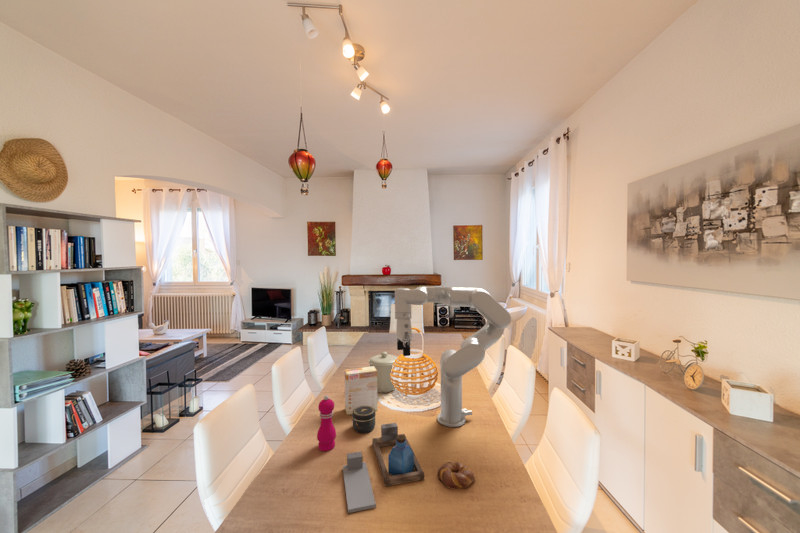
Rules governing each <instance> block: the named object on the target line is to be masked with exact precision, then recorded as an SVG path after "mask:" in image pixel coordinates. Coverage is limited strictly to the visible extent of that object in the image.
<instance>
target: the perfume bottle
mask: <svg viewBox="0 0 800 533" xmlns="http://www.w3.org/2000/svg"><path fill="white" fill-rule="evenodd" d="M405 436H406V434H405V435H399V434H398V435H397V437H396V438H397V439H396V445H393V447H392V449H391V450H390V452H389V454H388V469H387V472H388V475H390V476H394V475H399V474H405V473H410V472H414V471H415V469H414V454H415V452H414V450H413V448H412V447H411V448H412V449H411V448H410V446H411V445H410V446H408V445H406V439H405V438H407V437H405ZM412 450H413V451H412Z"/></svg>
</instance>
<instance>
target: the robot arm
mask: <svg viewBox="0 0 800 533" xmlns="http://www.w3.org/2000/svg"><path fill="white" fill-rule="evenodd" d="M426 303H433V304H435V303H436V304H442V305H444V306H448V307H463V308H464V307H466V308H467V307H468V308H474V309H475V310H477V311H478V313H479V314H480V315H481V316H482V317H483V318H485V319H486V322H485V324H484V325H483V326H482V327H481V328H479V329H478V331H475V332H474V333H473V334H470V336H468V337H467V338H465V339H464V340H462V342H461V344H460V348H459V349H458V350H455V349H451V348H450V349H446V350H444V351H443V352H442V354H441V355H440V362H439V363H440V364H439V365H440V366H439V368H440V412H439V413H438V414H437V417H436V418H437V422H438V423H439V424H441V425H442V426H444V427H449V428H459V427H461V426H463V425H465V423H466V416H472V415H473V411H472V410H471V409H470V410H468V409H467V408H463V376H464V375H466V374H467V373H469V372H470V371H472V370H473V369H475V368H476V367H478V366H479V365H480V364H481V363H482V362H483V360H485V358H486V351H487V350H488V349H490V348H491V347H492V346H493V345H495V344H496V343H497V342H498V341H499V340H500V339H501V338H502V337H503V335H504V331H505V329H506V328H508V327H509V326H510V324H511V322H512V316H511V313H510V311H508V309H506V308H505V307H503V305H501V303H499V302H498V300H496V298H494V297H493V296H492V295H491V294H490V293H489V292H488V291H486V290H485V289H484V288H481V287H454V286H450V287H448V286H442V287H441V286H417V287H416V288H413V289H410V288H407V287H397V288H395V290H394V319H395V320H396V326H395V327H396V331H395V332H396V338H397V339H396V341H397V342H396V348H397V351H402V357H409V356H411V342H412V341H413V334H412V333H413V332H412V321H411V320H412V305H413V306H414V305H416V306H423V305H425V304H426Z"/></svg>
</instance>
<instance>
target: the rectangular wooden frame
mask: <svg viewBox="0 0 800 533" xmlns="http://www.w3.org/2000/svg"><path fill="white" fill-rule="evenodd" d="M398 430H399V426H398V424H397V423H396V422H391V423H390V422H389V423H385V424H384V423H383V424H381V425H380V432H381V434H380V436H381V437H374V438H372V446H373V449H374V453H375V457H376V459H377V463H378V466H379V470H380V472H381V476H382V480H383V483H384V486H385V487H391V486H395V485H401V484H406V483H411V482H417V481H423V480H425V472H424V470H423V468H422V465H421V464H420V462H419V460H418V458H417V456H416V454H415V453H414V471H412V472H410V473H405V474H399V475H394V476H393V475H390V474H389V473H388V469H387V466H386V463H385V461H384V460H385V459H384V458H383V454H382V452H381V448H382V447H388V446H395V445H396V439H397V438H396V437H397V435H405V437H406V434H405V433H401V434H399V431H398ZM405 439H406V445H408V446H410V448H411V449H412V451H413V452H414V450H413V448H412V446H411V444H410V442H409V440H408V439H407V437H406V438H405Z"/></svg>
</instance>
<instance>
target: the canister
mask: <svg viewBox="0 0 800 533" xmlns="http://www.w3.org/2000/svg"><path fill="white" fill-rule="evenodd" d="M397 358H399V357H398V356H396V355H393V354H388V352H387V351H382V352H381V354H376V355H374V356H371V357H370V358H368V364H369V367H371V366H374V367H375V369H376V370H377V393H382V394H383V393H385V394H386V393H391V392H393V391H395V389H396V388H395V387H394V385H393V384H392V382H391V379H390V373H391V369H392V365H393V363H394V362H395V360H396V359H397Z"/></svg>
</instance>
